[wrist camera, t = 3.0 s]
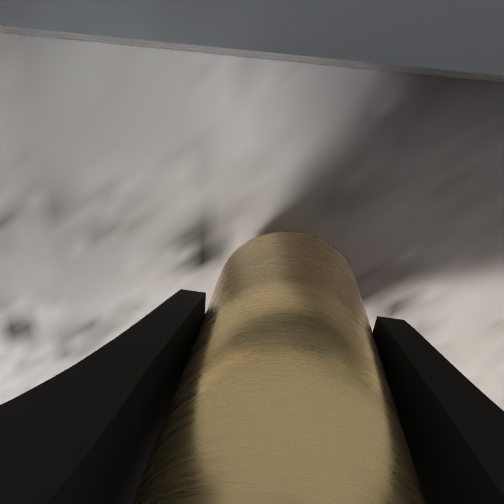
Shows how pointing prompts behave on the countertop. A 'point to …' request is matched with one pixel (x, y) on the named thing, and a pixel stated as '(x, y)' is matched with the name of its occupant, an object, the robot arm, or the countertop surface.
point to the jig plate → (288, 30)
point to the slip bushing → (282, 392)
